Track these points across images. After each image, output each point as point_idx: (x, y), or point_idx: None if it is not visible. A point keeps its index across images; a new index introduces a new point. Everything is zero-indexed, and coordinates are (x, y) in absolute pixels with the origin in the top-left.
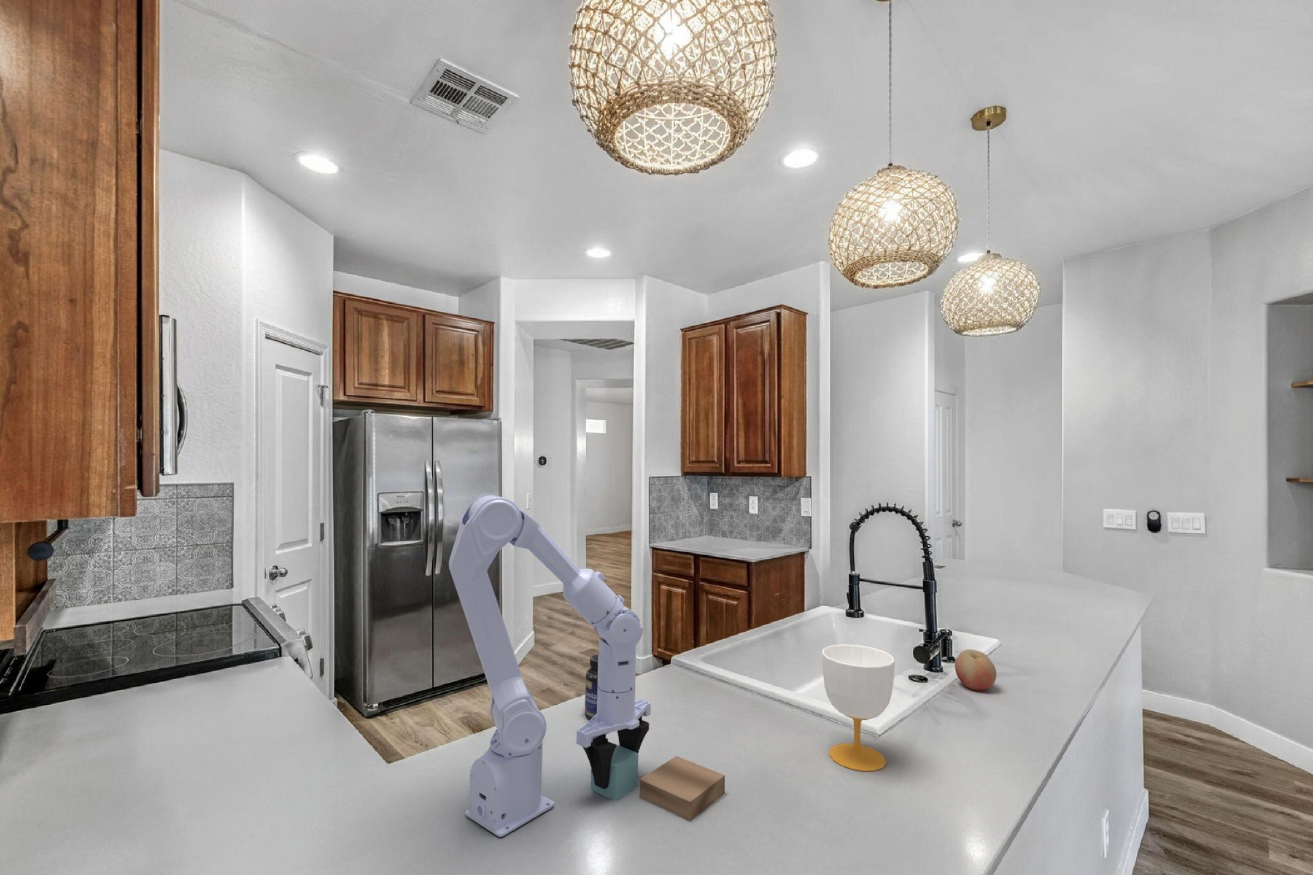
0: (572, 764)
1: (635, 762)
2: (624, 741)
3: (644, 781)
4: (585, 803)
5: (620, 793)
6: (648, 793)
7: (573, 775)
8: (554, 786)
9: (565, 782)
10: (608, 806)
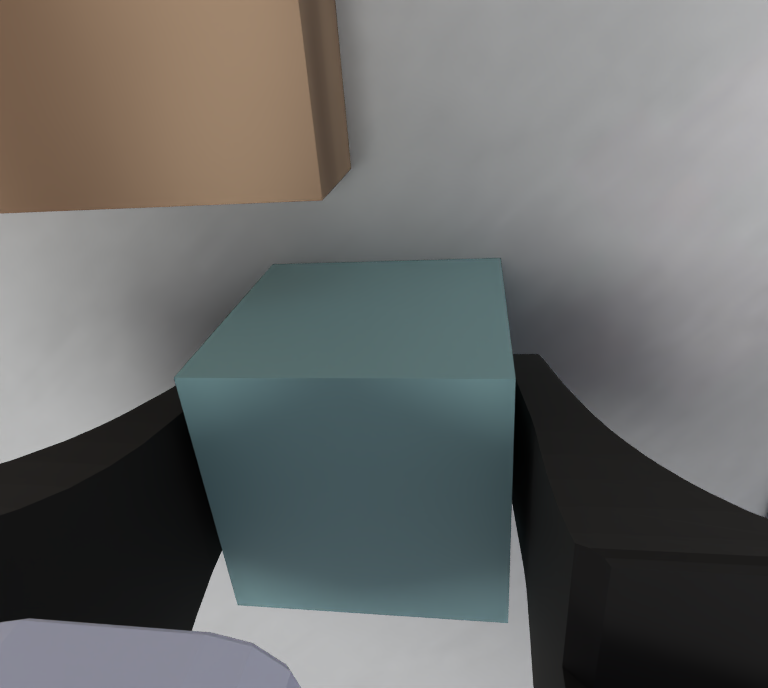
0: (390, 631)
1: (242, 341)
2: (181, 561)
3: (317, 140)
4: (643, 377)
5: (449, 269)
6: (329, 82)
7: None
8: None
9: None
10: (581, 250)
